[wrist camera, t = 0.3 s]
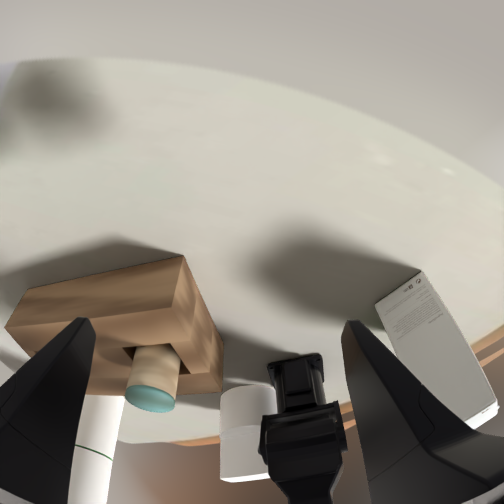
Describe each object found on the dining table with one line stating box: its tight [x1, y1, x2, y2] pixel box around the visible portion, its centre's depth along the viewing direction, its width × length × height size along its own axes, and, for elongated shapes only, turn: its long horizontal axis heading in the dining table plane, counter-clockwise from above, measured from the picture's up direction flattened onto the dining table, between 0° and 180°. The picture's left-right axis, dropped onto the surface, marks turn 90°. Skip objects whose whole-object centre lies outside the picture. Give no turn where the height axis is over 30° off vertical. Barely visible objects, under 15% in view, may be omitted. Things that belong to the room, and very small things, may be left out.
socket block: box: [4, 256, 224, 396], centre depth 27 cm, size 12×20×6 cm, turn 103°
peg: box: [125, 343, 181, 413], centre depth 23 cm, size 4×4×6 cm
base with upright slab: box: [219, 385, 277, 482], centre depth 35 cm, size 9×9×12 cm
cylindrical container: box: [68, 395, 124, 504], centre depth 30 cm, size 7×7×25 cm
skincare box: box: [375, 272, 499, 429], centre depth 23 cm, size 8×7×16 cm
